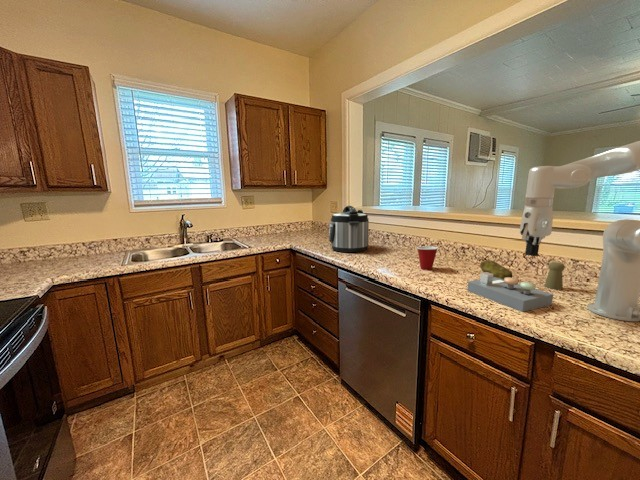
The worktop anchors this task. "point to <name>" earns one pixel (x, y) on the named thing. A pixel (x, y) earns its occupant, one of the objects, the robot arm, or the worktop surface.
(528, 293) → the sage button
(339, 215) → the pressure cooker
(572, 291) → the worktop surface
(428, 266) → the plastic cup
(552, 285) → the cork
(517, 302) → the panel
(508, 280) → the peach knob
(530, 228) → the robot arm
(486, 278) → the slider knob
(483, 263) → the potato
